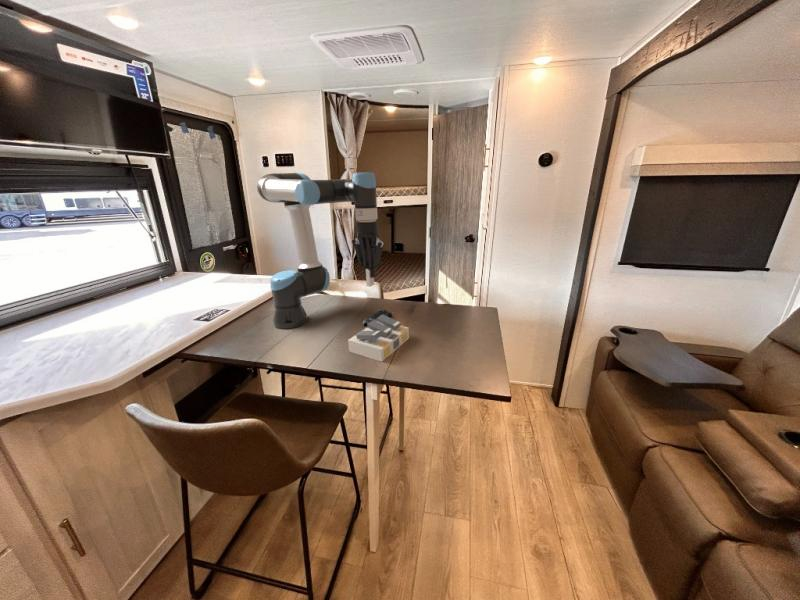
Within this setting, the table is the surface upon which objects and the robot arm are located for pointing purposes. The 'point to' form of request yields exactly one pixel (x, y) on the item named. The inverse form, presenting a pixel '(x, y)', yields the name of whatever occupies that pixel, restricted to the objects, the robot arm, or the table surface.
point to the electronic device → (376, 315)
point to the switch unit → (379, 344)
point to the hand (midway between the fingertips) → (370, 285)
